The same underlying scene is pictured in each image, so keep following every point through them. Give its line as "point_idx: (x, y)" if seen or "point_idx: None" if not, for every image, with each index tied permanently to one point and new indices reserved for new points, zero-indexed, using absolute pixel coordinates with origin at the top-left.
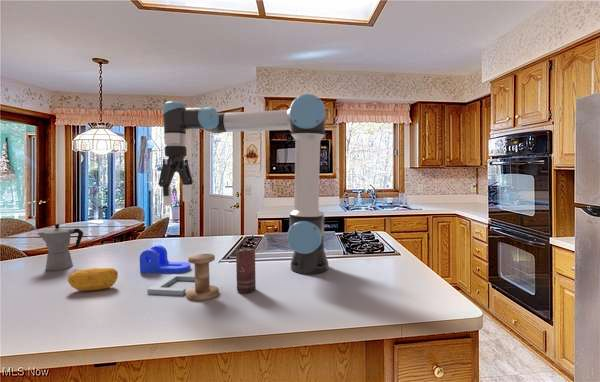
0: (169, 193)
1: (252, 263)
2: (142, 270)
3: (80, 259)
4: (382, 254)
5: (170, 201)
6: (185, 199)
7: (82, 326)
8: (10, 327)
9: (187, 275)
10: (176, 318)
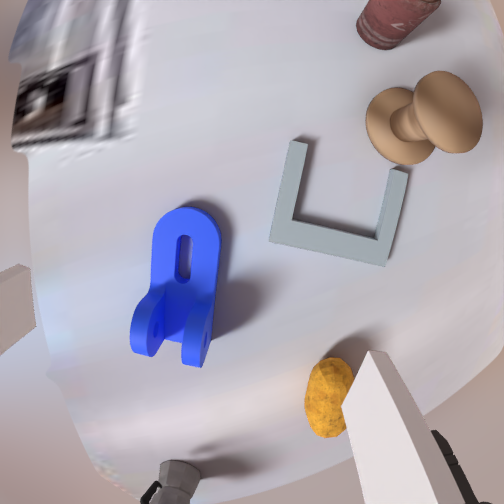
0: (428, 444)
1: None
2: (210, 337)
3: (130, 457)
4: None
5: (398, 377)
6: (21, 310)
7: (481, 309)
8: (447, 395)
9: (287, 187)
10: (489, 167)
